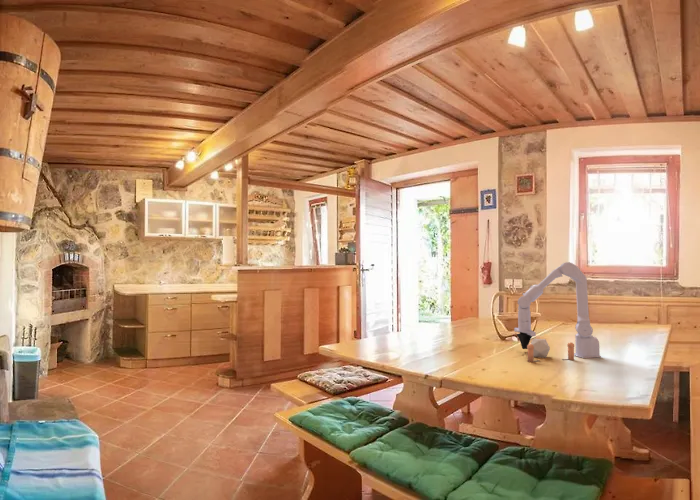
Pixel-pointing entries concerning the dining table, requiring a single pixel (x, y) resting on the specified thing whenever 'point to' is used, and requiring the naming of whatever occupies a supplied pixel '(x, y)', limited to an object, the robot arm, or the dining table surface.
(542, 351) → the die
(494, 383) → the dining table surface
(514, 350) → the dining table surface
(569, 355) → the pair of orange pieces
